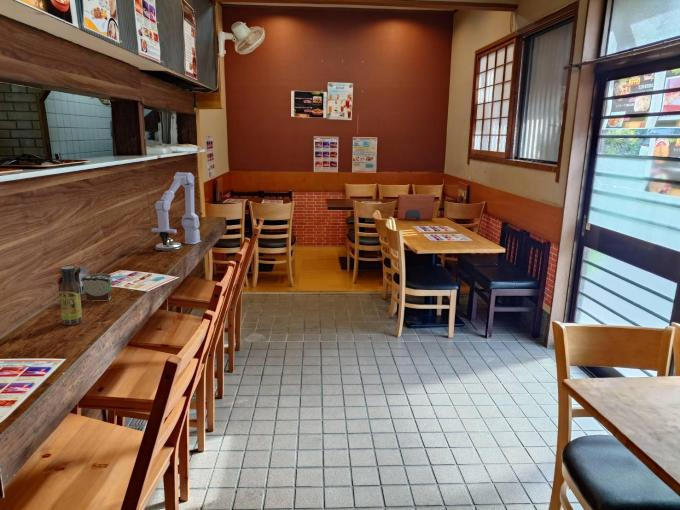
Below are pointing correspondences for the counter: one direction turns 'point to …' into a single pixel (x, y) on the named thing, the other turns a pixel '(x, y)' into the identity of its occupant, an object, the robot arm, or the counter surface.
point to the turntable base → (168, 249)
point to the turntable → (167, 246)
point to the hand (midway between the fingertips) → (165, 244)
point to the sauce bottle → (70, 297)
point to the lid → (170, 241)
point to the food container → (97, 286)
